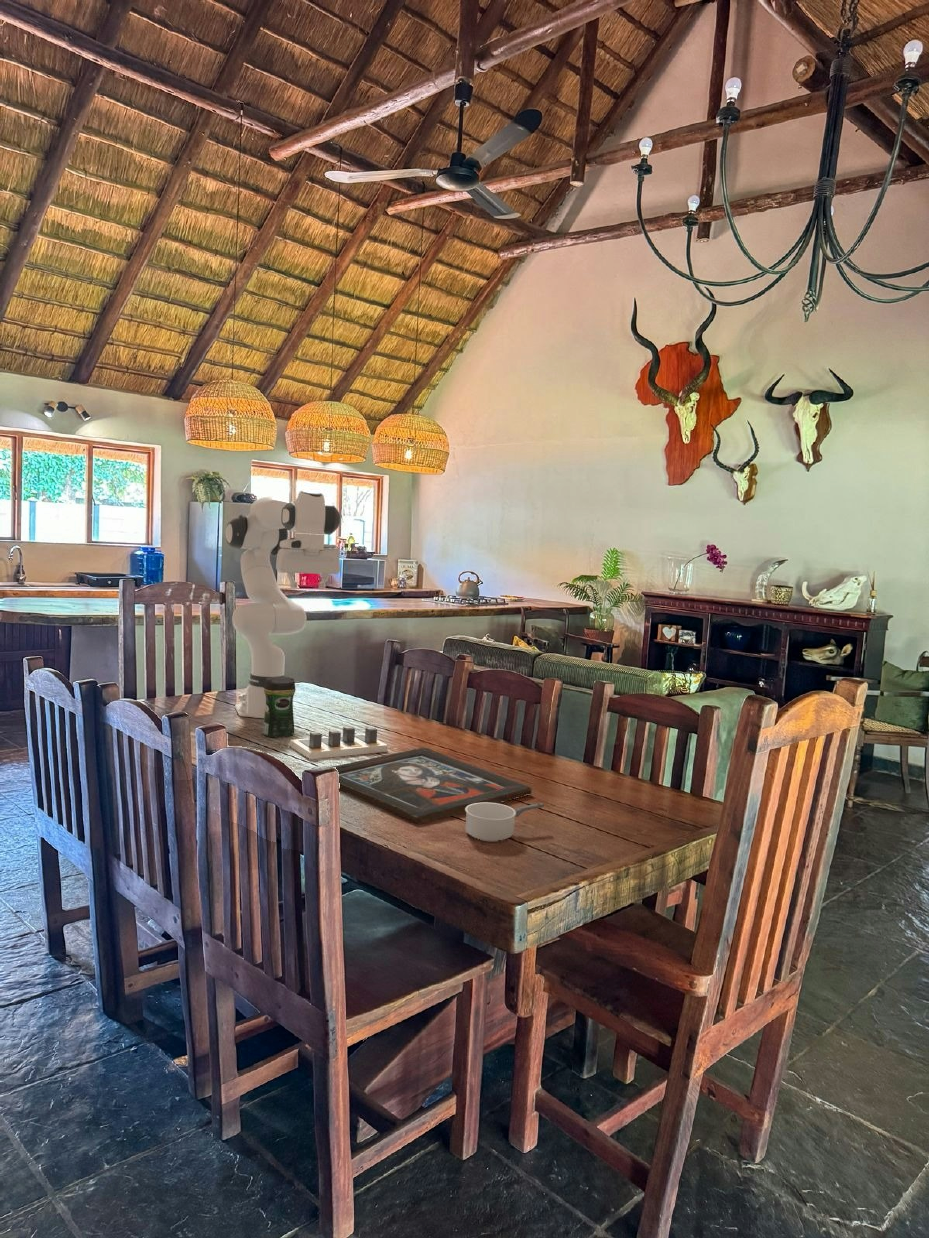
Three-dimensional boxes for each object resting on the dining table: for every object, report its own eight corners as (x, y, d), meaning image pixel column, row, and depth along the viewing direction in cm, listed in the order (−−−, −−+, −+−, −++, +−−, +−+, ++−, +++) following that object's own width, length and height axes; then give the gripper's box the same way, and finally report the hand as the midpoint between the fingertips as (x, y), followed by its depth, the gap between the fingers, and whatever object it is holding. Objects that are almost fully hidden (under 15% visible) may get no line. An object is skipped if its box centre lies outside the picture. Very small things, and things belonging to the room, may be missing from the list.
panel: (290, 746, 244) (290, 739, 243) (365, 739, 257) (365, 732, 257) (309, 759, 231) (309, 751, 231) (387, 751, 245) (387, 744, 245)
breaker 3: (342, 739, 246) (343, 726, 246) (350, 739, 248) (350, 725, 247) (346, 742, 244) (347, 728, 243) (354, 741, 245) (355, 728, 245)
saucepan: (555, 835, 184) (557, 811, 183) (480, 847, 173) (482, 822, 173) (526, 818, 194) (528, 796, 193) (454, 829, 183) (455, 805, 183)
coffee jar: (289, 730, 262) (291, 674, 260) (296, 736, 255) (299, 678, 254) (259, 732, 257) (261, 675, 256) (266, 738, 251) (268, 679, 249)
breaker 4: (364, 740, 247) (365, 727, 247) (372, 740, 248) (372, 726, 248) (369, 743, 244) (369, 729, 244) (376, 742, 246) (377, 728, 245)
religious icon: (420, 754, 244) (420, 744, 243) (533, 796, 212) (534, 785, 212) (306, 777, 216) (307, 766, 215) (418, 830, 184) (419, 817, 183)
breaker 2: (328, 744, 240) (328, 730, 240) (335, 743, 242) (336, 729, 241) (332, 746, 238) (333, 732, 237) (340, 745, 239) (340, 731, 239)
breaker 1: (309, 745, 237) (309, 731, 237) (317, 745, 238) (317, 731, 238) (313, 748, 235) (313, 734, 234) (321, 747, 236) (321, 733, 236)
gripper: (335, 544, 259) (333, 587, 261) (274, 541, 247) (273, 586, 249) (344, 545, 254) (342, 589, 256) (283, 542, 242) (281, 588, 244)
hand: (307, 588), depth 252 cm, fingers open, 8 cm apart
